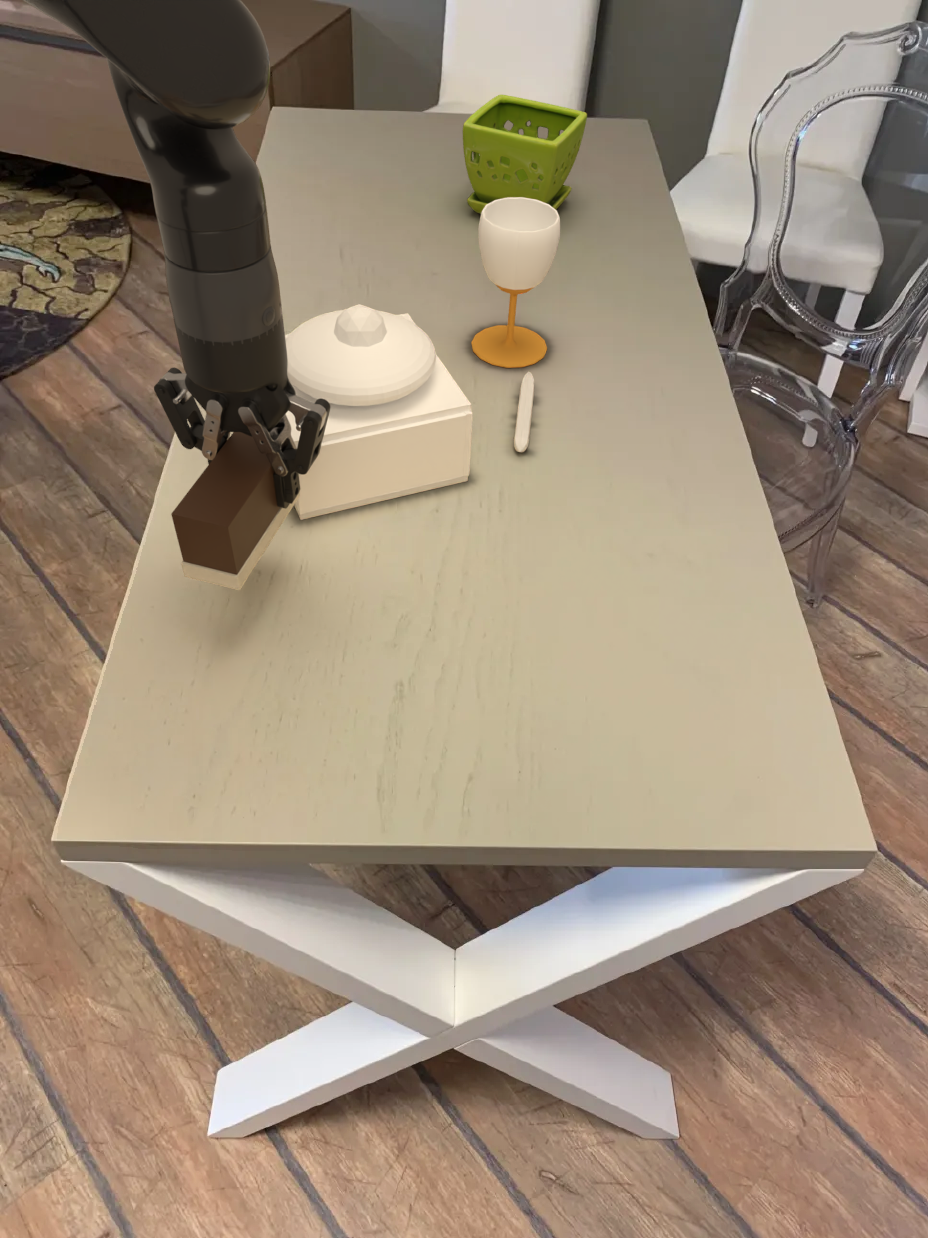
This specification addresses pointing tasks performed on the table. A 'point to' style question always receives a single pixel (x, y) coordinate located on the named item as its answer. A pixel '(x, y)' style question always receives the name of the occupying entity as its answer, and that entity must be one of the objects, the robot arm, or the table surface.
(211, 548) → the brown block cream base
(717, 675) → the table surface
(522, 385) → the cream rounded rod
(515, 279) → the cup
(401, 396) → the white lidded box
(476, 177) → the flower pot
